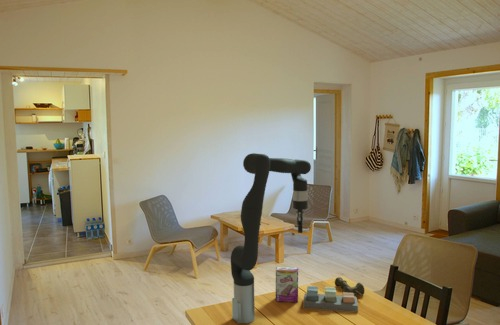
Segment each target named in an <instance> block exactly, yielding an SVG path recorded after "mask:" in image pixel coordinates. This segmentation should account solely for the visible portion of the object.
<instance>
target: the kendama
mask: <svg viewBox="0 0 500 325" xmlns="http://www.w3.org/2000/svg"><path fill="white" fill-rule="evenodd" d="M334 285H335V287H339V288H340V289H343V292H346V293H354V295H355V294H357V295H359V296H363V295H365V287H364V284H363V283H361V282H357V283H356V284H355V286H350V284H348V282H347V280H345V279H344V280H343V277H341V276H340V277H339V276H338V277H336V278H335V280H334ZM343 292H342V293H343Z"/></svg>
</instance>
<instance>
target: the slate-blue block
mask: <svg viewBox="0 0 500 325" xmlns="http://www.w3.org/2000/svg"><path fill="white" fill-rule="evenodd" d="M306 287H307V288H306V293H307V300H313V301H318V294H319V287H318V285H317V286H316V285H315V286H314V285H307V286H306Z"/></svg>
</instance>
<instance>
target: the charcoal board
mask: <svg viewBox="0 0 500 325" xmlns="http://www.w3.org/2000/svg"><path fill="white" fill-rule="evenodd" d="M303 297H304V298H303V309H312V310H324V311H326V310H327V311H337V312H352V313H358V312H359V305H358V299H357V296H355V295H354V304H352V303H343V295H337V294H336V302H328V301H325V295H324V293H322V294H321V293H318V301H313V300H307V292H306V293H305V292H304V296H303Z"/></svg>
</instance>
